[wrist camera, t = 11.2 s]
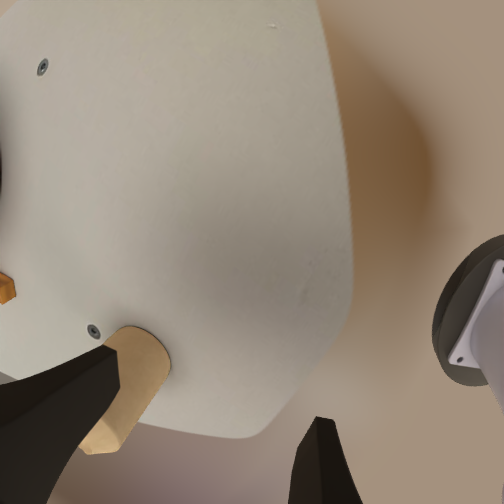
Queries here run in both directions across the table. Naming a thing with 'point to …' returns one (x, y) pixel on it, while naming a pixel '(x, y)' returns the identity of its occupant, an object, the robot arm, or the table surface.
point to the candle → (129, 388)
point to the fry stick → (6, 289)
